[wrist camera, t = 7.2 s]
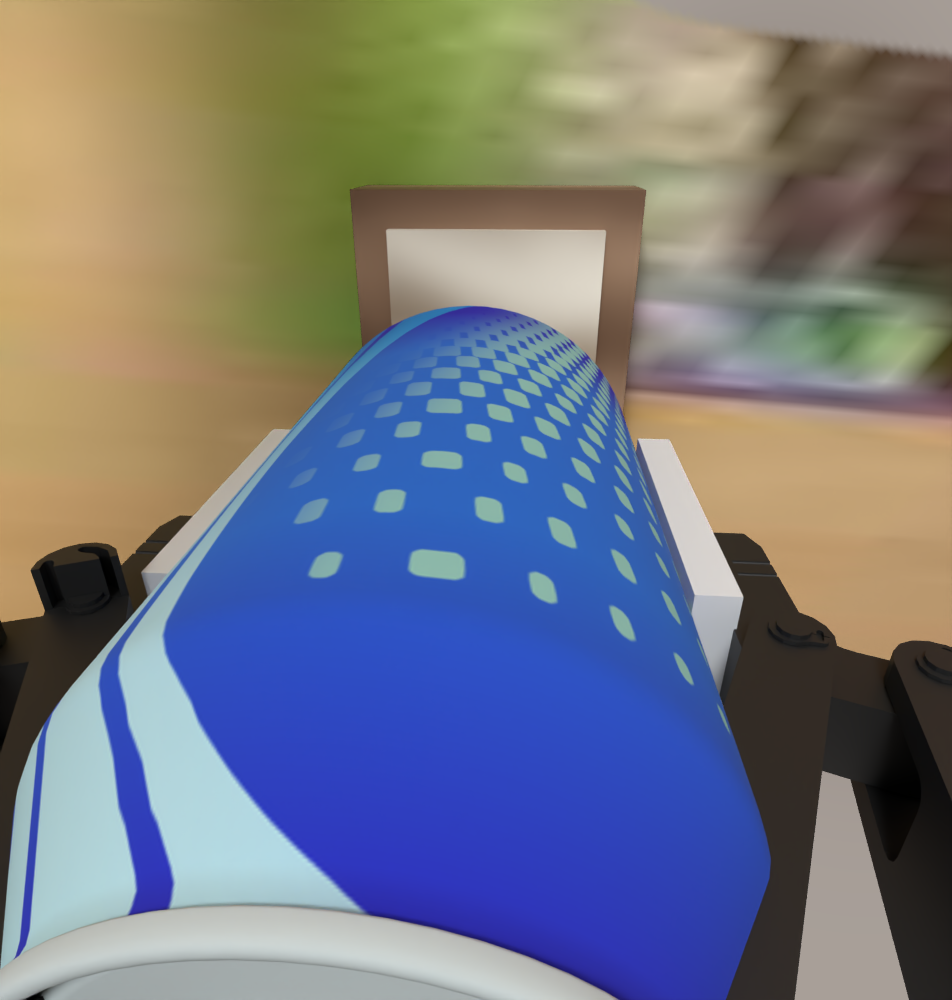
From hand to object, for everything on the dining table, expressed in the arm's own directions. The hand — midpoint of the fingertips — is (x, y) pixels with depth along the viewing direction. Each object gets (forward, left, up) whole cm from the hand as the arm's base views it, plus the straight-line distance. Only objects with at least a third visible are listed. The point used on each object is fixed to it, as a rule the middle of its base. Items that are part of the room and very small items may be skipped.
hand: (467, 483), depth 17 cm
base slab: (0, 0, -18) cm, 18 cm away
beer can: (0, 0, -3) cm, 3 cm away
